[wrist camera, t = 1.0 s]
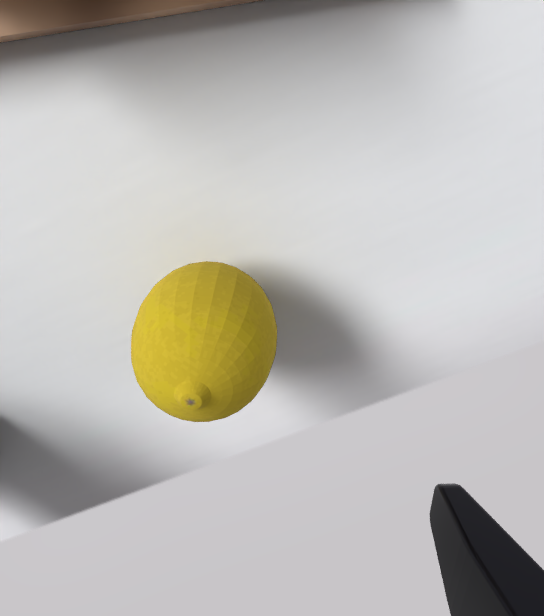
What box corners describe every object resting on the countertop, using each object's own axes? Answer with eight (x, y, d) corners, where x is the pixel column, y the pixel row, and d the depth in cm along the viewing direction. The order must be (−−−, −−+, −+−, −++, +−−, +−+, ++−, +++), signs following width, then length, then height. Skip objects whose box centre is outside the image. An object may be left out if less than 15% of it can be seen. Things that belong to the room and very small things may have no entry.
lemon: (290, 254, 20) (301, 353, 13) (258, 352, 23) (252, 479, 16) (169, 220, 19) (112, 307, 12) (149, 325, 22) (92, 447, 15)
